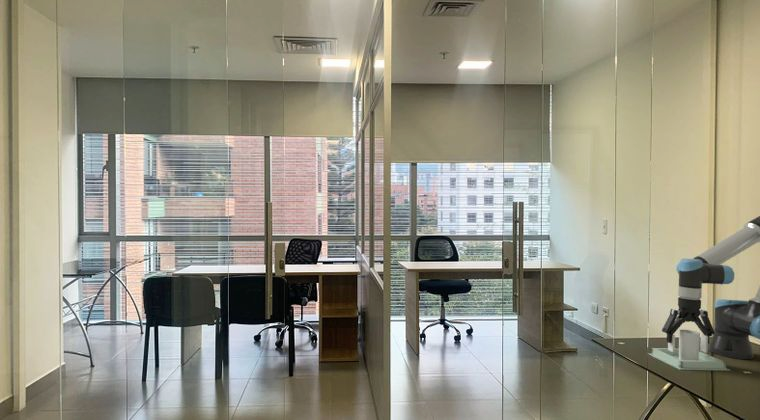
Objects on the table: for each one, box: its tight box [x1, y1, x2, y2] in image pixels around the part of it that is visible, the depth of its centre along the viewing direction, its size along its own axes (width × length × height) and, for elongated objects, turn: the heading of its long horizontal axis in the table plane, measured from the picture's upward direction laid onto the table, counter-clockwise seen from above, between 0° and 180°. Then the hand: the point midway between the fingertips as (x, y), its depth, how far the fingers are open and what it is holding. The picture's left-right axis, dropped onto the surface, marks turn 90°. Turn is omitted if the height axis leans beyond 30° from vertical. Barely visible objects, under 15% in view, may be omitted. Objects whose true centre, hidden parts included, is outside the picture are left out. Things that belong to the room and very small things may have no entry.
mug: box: [678, 328, 701, 361], centre depth 177 cm, size 10×7×12 cm, turn 148°
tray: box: [647, 347, 731, 372], centre depth 177 cm, size 20×18×3 cm
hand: (687, 351), depth 177 cm, fingers open, 13 cm apart
